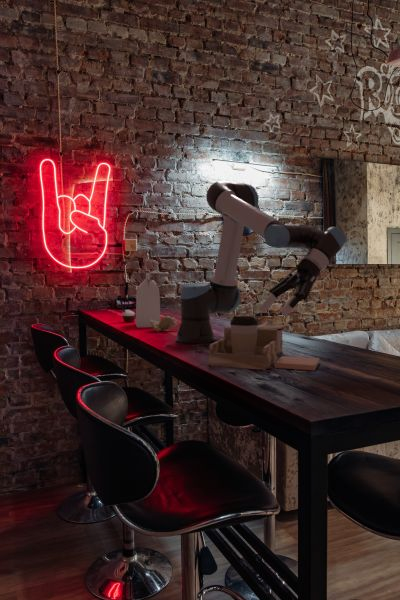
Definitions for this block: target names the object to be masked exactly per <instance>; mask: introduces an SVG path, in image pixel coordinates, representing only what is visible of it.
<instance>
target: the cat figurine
mask: <svg viewBox="0 0 400 600" xmlns="http://www.w3.org/2000/svg"><path fill="white" fill-rule="evenodd" d="M160 319H161V321H160V322H158V321H155V320H151V319H150V323H151V325H152V327H151V328H153V331H154V332H156V333H159V331H160V332H162V331H167V330H169V329H171V328H172V327H177V326H178V325H179V323H178V322H177V321H175V320H176V317H171V315H166V316H163V317H162V318H160Z"/></svg>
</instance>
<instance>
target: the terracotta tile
mask: <svg viewBox="0 0 400 600" xmlns="http://www.w3.org/2000/svg"><path fill="white" fill-rule="evenodd" d="M319 364H320V358H318V357H301V356H284V355H282V356H281V357H279V358H277V360H276V361H274V368H275V369H290V370H301V371H302V370H303V371H305V370H306V371H315V370H316V368H317V367H318V365H319Z"/></svg>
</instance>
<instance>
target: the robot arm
mask: <svg viewBox="0 0 400 600" xmlns="http://www.w3.org/2000/svg"><path fill="white" fill-rule="evenodd" d="M206 202H207V204H208V206H209V207H210V209H212V210H213V211H215V213H218V214H219V215H221V216H222V218H223V222H222V223H223V224H222V229H221V234H220V235H221V236H220V240H219V247H218V254H217V258H216V264H215V271H214V275H213V276H212V277H210V280H209V282H208V281H207V282H192V283H187V284H184V285H183V286H182V287H181V291H180V302H181V303H180V314H181V315H180V316H181V317H180V320H181V321H180V325H179V328H178V331H177V333H176V342H179V343H185V344H205V343H206V344H207V343H211V342H214V341H215V334H214V330H213V328H212V324H211V314H226V313H229V312H233V311H234V310H236V309H237V308H238V307H239V305H240V303H241V299H242V292H241V293H240V291H241V290H240V288H239V287H238V282H237V280H236V279H235V278H236V274H237V269H238V263H239V258H240V257H239V256H240V252H241V246H242V240H243V235H244V229H245V227H246V228H247V229H249V230H250V231H252V232H253V233H255V234H257V235H259V236H260V237H261V238H264V241H265V243H266V245H267V246H269V247H271V248H276V249H282V248H284V249H285V248H289V249H291V248H292V249H306V250H308V252H307V253H306V254H305V256H304V257H303V258H302V259H301V260H300V262H299V263H298V264H297V265H296V272H295V273H294V274H293V273H291V272H290V273H288V274H287V276H285V278H283V279H282V280H281V281H279V282H277V284H275V285H274V286H273V287H271V288H270V289H269V290H268V292H269V293H270V294H269V295H268V296H267V297H266V299H265V300H264V301H263V302H262V303H261V305H260V306H258V308H259V309H260V310H261V311H262V312H263V313H264V314H265V313H267V312H268V310H269V309H270V308H271V307H272V305H274V303H276V301H277V300H278V297H279V296H281V295H283V294H285V293H286V292H288V291H289V290H291V289H295V292H294V293H293V295H292V296H291V297H290V298H289V300H288V301H287V302H285V304H284V305H283V306H282V308H281V309H280V310H279V312H280V313H281V315H283V316H284V317H286V318H287V317H288V316H289V314H290V313H291V312H292V311H293V310H294V309H295V307H296V306H297V305H298V304H299V302H302V301H306V300H307V299H308V297H309V294H310V293H311V289H312V288H313V286H314V284H315V283H316V281H317V277H319V275H320V274H321V272H322V271H323V270H325V269H326V267H327V265H328V264H329V263H330V262H331V260H332V259H333V258H334V257H335V256H336V255H337V254H339V252H340V251H341V250H342V248H343V246H344V245H345V244H346V242H347V235H346V233H345V232H344V231H343V230H341V229H340V228H338V227H337V226H330V227H328V228H327V229H326V231H325V230H320V229H318V228H315V227H312V226H308V225H306V224H300V223H297V224H295V225H288V224H287V225H286V224H285V223H284V222H281V221H279V220H277V219H276V218H274V217H273V216H271V215H269V214H267V213H266V212H264V211H263V210H261V209H258V206H259V193H258V191H257V190H256V188H255V187H254V186H253V185H252V184H249V183H245V182H236V181H227V180H219V181H216V182H214V183H212V184H211V185H210V186H209V187H208V188H207V191H206Z"/></svg>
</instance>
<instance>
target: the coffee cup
mask: <svg viewBox="0 0 400 600" xmlns="http://www.w3.org/2000/svg"><path fill="white" fill-rule="evenodd" d="M229 324H230V327H231V341H232V350H233V354H241V355H255V350H256V343H257V333H258V332H257V328H258V326H259V323H258V320H256V318H255V317H254V316H248V315H247V316H245V315H244V316H242V315H241V316H237V315H233V318H232V319H231V320H230V323H229Z"/></svg>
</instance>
